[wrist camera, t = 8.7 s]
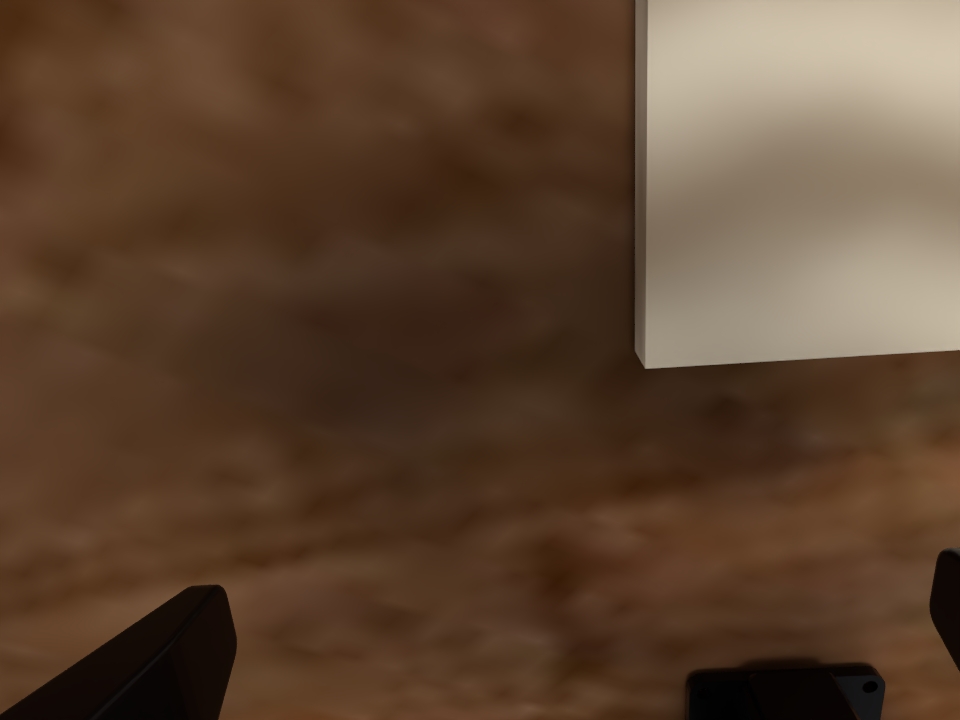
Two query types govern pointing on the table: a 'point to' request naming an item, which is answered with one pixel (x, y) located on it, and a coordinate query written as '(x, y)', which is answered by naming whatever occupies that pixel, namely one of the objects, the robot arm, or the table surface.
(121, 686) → the robot arm
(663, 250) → the duct base
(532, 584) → the table surface
